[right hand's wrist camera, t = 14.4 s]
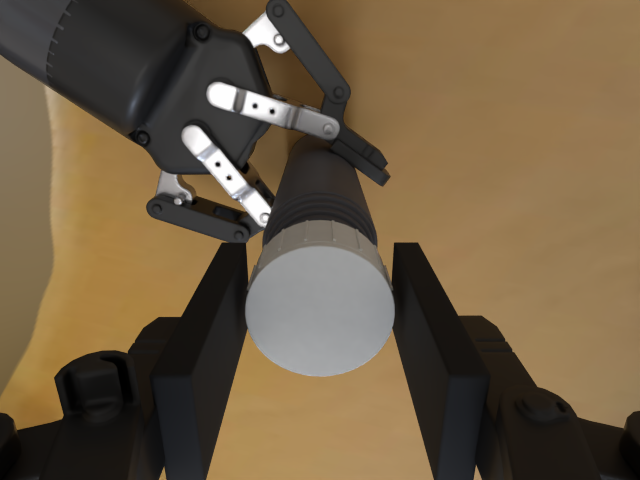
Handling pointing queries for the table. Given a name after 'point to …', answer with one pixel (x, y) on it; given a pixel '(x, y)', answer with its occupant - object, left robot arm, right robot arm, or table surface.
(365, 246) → the cap
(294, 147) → the bottle
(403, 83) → the table surface
